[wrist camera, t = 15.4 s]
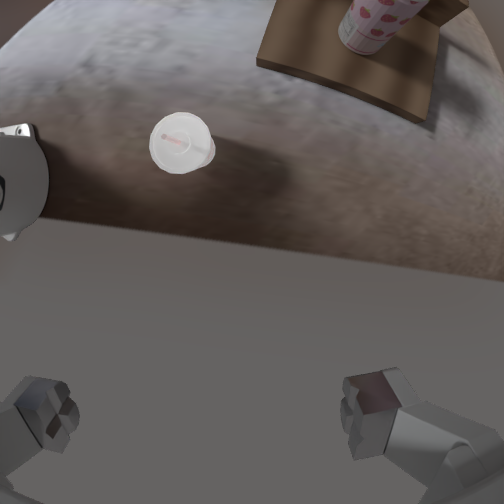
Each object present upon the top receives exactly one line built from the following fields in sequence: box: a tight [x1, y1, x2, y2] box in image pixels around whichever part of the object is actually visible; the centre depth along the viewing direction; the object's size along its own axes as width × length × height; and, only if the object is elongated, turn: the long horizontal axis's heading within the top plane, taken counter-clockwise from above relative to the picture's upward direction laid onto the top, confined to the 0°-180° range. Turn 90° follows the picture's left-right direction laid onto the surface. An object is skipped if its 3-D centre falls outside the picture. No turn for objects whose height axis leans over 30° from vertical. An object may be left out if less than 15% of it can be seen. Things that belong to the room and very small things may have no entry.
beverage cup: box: [149, 112, 215, 174], centre depth 30 cm, size 6×6×14 cm
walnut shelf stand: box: [256, 0, 469, 124], centre depth 27 cm, size 22×17×11 cm
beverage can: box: [338, 0, 430, 55], centre depth 23 cm, size 6×6×15 cm
